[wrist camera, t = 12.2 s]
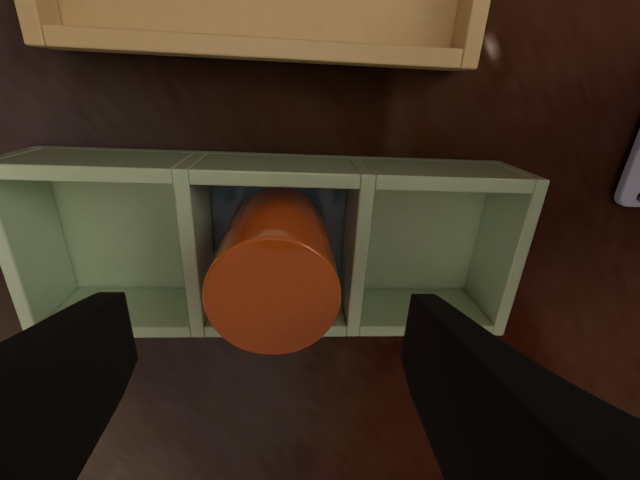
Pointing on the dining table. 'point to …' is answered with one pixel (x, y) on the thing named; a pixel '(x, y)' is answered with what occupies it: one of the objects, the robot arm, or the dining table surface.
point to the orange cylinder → (273, 275)
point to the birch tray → (267, 30)
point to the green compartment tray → (218, 209)
